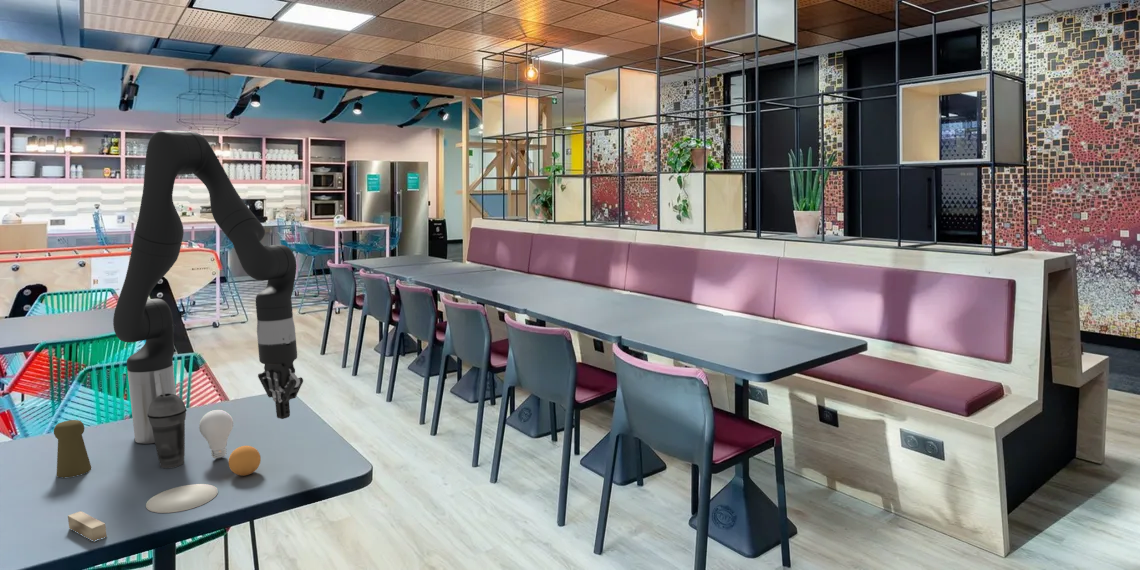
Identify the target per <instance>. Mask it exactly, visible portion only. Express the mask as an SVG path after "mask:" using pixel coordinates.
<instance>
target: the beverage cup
mask: <svg viewBox="0 0 1140 570" xmlns="http://www.w3.org/2000/svg"><path fill="white" fill-rule="evenodd" d="M159 376H160V383H161V389H162V395H160V396H158V397H156V398H155V399H154V400H153V401H152V402H151V404H150V406H149V409H148V417H149V421H150V424H151V426H152V430H153V435H154V440H155V443H154V444H155V449H156V454H157V457H158V458H157V459H158V461H159V465H160V468H161V469H173V468H177V467H179V466H182V465H184V463H185V456H186V455H185V454H186V453H185V450H186V449H185V448H186V447H185V444H186V442H185V441H186V439H185V438H186V437H185V436H186V434H185V432H186V431H185V429H186V428H185V425H186V424H185V422H186V421H185V420H186V418H187V413H186V412H187V411H188V410H187V408H186V405H185V402H184V400H183V399H182V398H181V397H180V396H178V395H177V394H176V395H174V394H169V393H168V394H165V390H164V384H163V378H162V373H160V374H159Z"/></svg>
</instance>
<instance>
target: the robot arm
mask: <svg viewBox="0 0 1140 570" xmlns="http://www.w3.org/2000/svg"><path fill="white" fill-rule="evenodd" d="M222 165H223V164H221V162H220V160H219V158H218V156H217V155H216V153H215V151H214V149H213V147H212V146H211V144H210V143H209V141H207V139H206V138H205V137H204V136H203V135H202V134H200V133H198V132H196V131H190V130H159V131H156V132H154V133H153V134H152V135H151V137H150V139H149V141H148V143H147V146H146V153H145V161H144V176H143V177H144V178H143V188H142V195H141V200H140V208H139V213H138V216H137V217H138V218H137V222H136V226H135V229H134V230H135V231H134V234H133V237H132V238H133V239H132V245H131V252H130V257H129V262H128V266H127V271H126V274H125V279H124V282H123V285H122V288H121V291H120V292H119V293H120V294H119V297H118V299H117V302H116V304H115V305H116V306H115V309H114V313H113V318H112V319H113V320H112V321H113V323H112V324H113V331H114V334H115V335H116V337H117V339H119V340H120V341H122V342H125V343H136V342H142V341H145V343H144V344H143V345H142V347H141V348H140V349H139V350H137V351H136V352H134V353H133V354H131V355H129V357H128V358H127V360H126V368H127V369H126V370H127V377H128V378H127V379H128V386H129V395H130V405H131V406H130V407H131V415H132V423H133V434H134V441H135V443H137V444H141V445H143V444H144V445H145V444H149V445H150V444H155V440H154V435H153V430H152V426H151V424H150V421H149V417H148V409H149V406H150V404H151V402H152V401H153V400H154V399H155V398H156V397H158V396H160V395H162V389H161V383H160V376H159V374H160V373H162V378H163V384H164V390H165V394H168V393H169V394H174V395H177V393H176V392H177V391H176V382H175V374H174V373H175V372H174V364H173V362H174V361H173V358H174V354H175V342H174V341H175V340H174V339H175V337H174V335H175V334H174V318H173V313H172V310H171V308H170V306H169V304H168V302H167V301H165V300H164V299H161V298H151V299H149V296H150V294H151V293H152V291H153V290H154V288H155V287H156V285H157V284H158V283H159V282H160V281H161V280H162V278H164V276H166V274H168V272H169V271H170V270H171V268H173V266H174V265H175V263H176V262H177V260H178V257H179V256H180V252H181V247H182V243H183V239H184V234H185V233H184V225H183V222H182V219H181V217H180V215H179V213H178V211H177V209H176V207H175V204H174V201H173V193H174V186H175V182H176V179H177V176H178V175H179V176H180V175H194V176H196V177H197V179H199V181H201V182H202V184H204V186H205V188H206V189H207V191H208V194H209V203H210V205H209V206H210V210H211V215H212V218H213V220H214V221H215V223H216V225H217V227H218V228H220V230H221V231H222V232H223V233H224V235H225V236H226V237H227V238H228V239H229V241H230V243H232V245H233V247H234V251H235V253H236V255H237V258H238V260H239V262H240V265H241V268H242V269H243V271H244V272H245V273H246V274H247V275H248V276H249V277H250V278H252V279H253V280H256V281H260V282H262V281H263V282H264V281H267V284H266V287H265V288H264V289H263V290H262V291H260V292H258V294H256V296H255V311H256V312H255V313H256V320H257V321H256V335H257V337H256V338H257V347H258V348H257V349H258V359H259V363H261V364H263V365H264V367H263V372H260V373H258V374H257V378H258V380H259V381H260V384H261V385H262V388H263V390H265V393H266V395H267V397H268V398H272V401H273V402H275V412H276V413H275V414H276V418H277V419H281V420H285V419H287V418H290V416H291V408H290V401H291V400H292V399H296V397H297V395H298V393H299V392H300V389H301V387H302V385H303V383H304V378H303V377H301V376H300V377H298V376H297V375H296V368H295V366H294V361H296V360H297V359H298V351H297V350H298V349H297V348H298V347H297V335H296V326H295V322H294V316H293V314H294V313H293V305H292V304H293V303H292V302H293V301H292V295H293V291H294V287H295V286H294V285H295V280H296V274H297V260H296V256H295V254H294V252H293V251H292V250H291V249H290V248H289V247H288V246H286V244H285V245H284V244H273V245H266V246H265V245H263V244H262V242H261V241H262V240H263V239H264V237H265V233H266V231H265V227H264V225H263V224H262V223H261V221H260V220H259V219H258V217H257V216H256V215H255V214H254V213H253V211H252V210H251V209H250V208H249V207H248V206H247V204H246V202H245V201H244V200H243V199H242V198H241V195H239V193H238V192H237V190H236V188H235V187H234V185H233V182H231V180H230V178H229V176H228V174H227V172H226V171H225V169H224V167H223V166H222Z"/></svg>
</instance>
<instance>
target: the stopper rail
mask: <svg viewBox="0 0 1140 570" xmlns="http://www.w3.org/2000/svg"><path fill="white" fill-rule="evenodd" d="M67 519H68V520H67V521H68V529H69V528H70V529H72V530H74V531H76V532H78V533H79V534H82V535H83V536H85V537H87V538H89V539H91V540H93V541H95V540H97V539H101V538H104V537H107V538H108V536H107V526H106V523H105V522H103V521H101V520H99V519H97V518H95V517H93V516H91V515H90V514H87V513H86V512H84V511H81V510H80V511H76V512H74V513H71V514H68V515H67ZM70 529H69V530H70ZM72 530H71V531H72ZM74 531H73V532H74ZM76 532H75V533H76ZM79 534H78V535H79ZM83 536H82V537H83ZM85 537H84V538H85ZM104 539H105V538H104Z"/></svg>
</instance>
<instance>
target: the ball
mask: <svg viewBox="0 0 1140 570" xmlns="http://www.w3.org/2000/svg"><path fill="white" fill-rule="evenodd" d="M260 464H261V454H260V452H259V451H258V449H257V448H255V447H254V446H252V445H242V446H239V447H237V448H235V449H233V450H232V452H231V454H230V455H229V457H228V466H229V469H230V470H231V472H232V473H234V475H237V476H241V477H243V476H244V477H245V476H249V475H251V474H253V473H254V472H255V471H256V470H258V468H259V467H260Z"/></svg>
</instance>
